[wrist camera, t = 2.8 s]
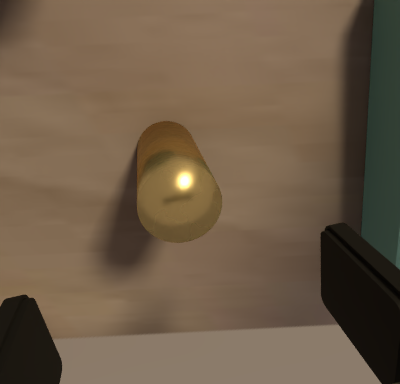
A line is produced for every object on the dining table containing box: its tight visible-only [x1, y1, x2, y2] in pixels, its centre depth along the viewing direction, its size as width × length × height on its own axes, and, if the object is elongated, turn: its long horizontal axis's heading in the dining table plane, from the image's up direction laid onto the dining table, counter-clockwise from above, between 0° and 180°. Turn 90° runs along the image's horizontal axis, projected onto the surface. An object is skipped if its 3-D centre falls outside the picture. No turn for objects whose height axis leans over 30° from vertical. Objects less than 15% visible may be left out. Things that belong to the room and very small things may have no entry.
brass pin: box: [137, 121, 222, 243], centre depth 21 cm, size 4×4×9 cm
